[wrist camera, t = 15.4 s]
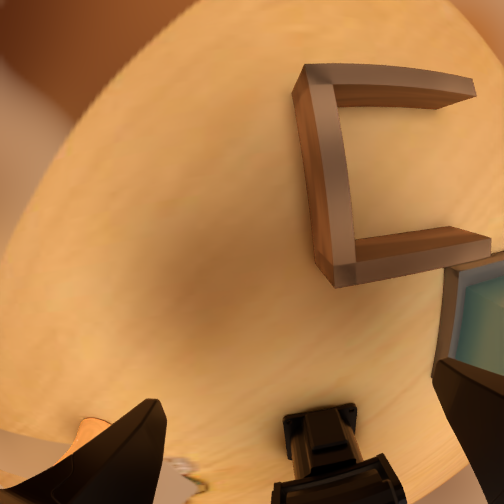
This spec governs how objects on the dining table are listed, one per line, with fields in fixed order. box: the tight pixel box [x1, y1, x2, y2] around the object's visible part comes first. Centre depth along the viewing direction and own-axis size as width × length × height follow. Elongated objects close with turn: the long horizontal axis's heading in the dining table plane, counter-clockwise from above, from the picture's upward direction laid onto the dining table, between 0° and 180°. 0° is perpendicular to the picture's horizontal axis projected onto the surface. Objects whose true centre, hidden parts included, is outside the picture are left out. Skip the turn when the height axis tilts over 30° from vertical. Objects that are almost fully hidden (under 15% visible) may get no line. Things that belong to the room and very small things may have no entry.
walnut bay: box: [292, 63, 491, 288], centre depth 16 cm, size 11×11×5 cm
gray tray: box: [431, 251, 504, 379], centre depth 20 cm, size 11×10×2 cm
